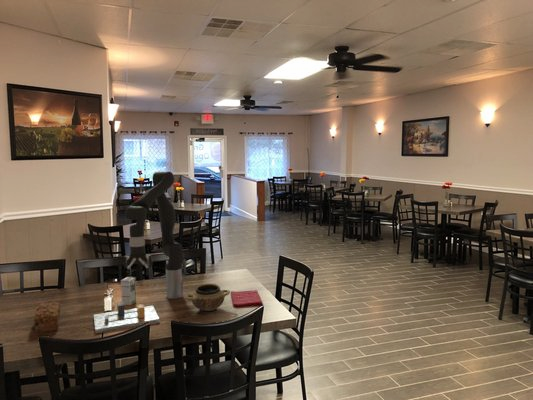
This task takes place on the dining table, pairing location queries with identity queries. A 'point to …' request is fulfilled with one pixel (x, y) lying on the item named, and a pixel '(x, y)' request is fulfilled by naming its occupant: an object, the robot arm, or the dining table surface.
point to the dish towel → (246, 298)
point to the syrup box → (128, 291)
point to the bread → (47, 316)
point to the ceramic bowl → (207, 297)
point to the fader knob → (140, 311)
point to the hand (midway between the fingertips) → (138, 275)
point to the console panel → (123, 318)
